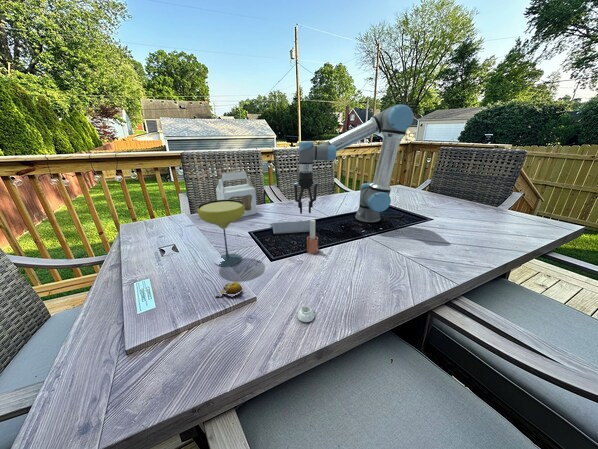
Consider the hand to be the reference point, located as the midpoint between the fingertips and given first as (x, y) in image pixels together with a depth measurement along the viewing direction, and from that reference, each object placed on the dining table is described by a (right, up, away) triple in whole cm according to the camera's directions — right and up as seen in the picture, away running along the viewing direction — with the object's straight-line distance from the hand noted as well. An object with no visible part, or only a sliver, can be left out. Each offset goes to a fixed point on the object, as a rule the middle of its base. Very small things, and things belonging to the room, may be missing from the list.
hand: (305, 212), depth 141 cm
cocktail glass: (-35, -23, -33) cm, 53 cm away
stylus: (+3, -19, -26) cm, 32 cm away
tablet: (-7, -9, +2) cm, 12 cm away
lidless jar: (-2, -35, -66) cm, 75 cm away
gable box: (-45, 0, +27) cm, 52 cm away
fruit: (-28, -30, -54) cm, 68 cm away
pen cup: (+3, -19, -26) cm, 32 cm away
